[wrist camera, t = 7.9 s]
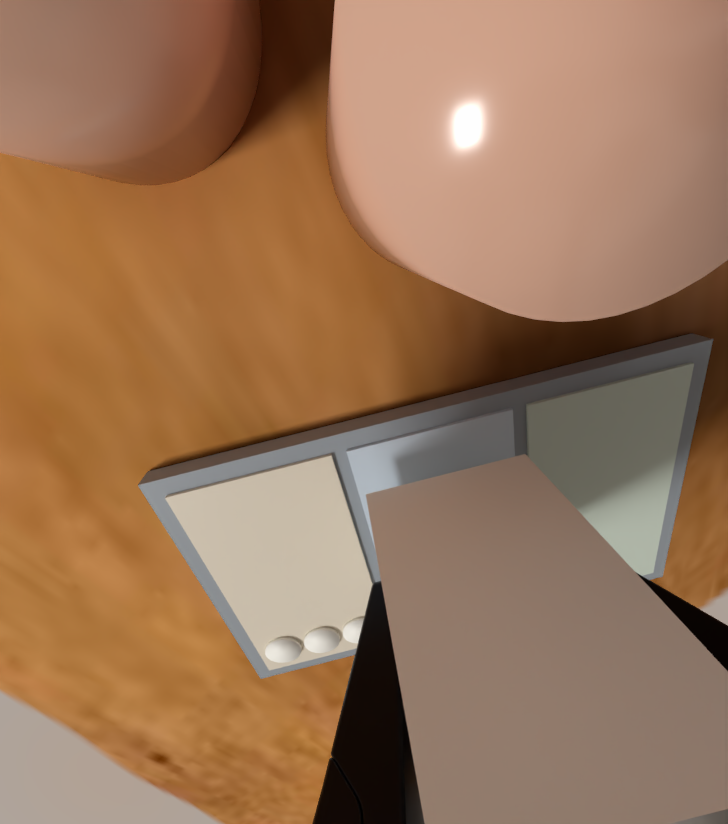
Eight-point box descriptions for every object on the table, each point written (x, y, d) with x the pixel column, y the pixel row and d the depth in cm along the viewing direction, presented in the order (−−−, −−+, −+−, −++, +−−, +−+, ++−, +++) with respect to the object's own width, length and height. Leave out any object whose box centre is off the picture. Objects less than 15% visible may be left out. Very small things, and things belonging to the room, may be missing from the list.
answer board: (692, 333, 10) (721, 341, 9) (649, 563, 14) (667, 581, 13) (147, 471, 10) (134, 490, 9) (262, 661, 14) (259, 685, 13)
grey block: (525, 454, 9) (832, 783, 4) (528, 565, 11) (736, 896, 5) (365, 494, 9) (435, 881, 4) (395, 599, 11) (471, 963, 5)
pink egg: (574, -66, 6) (1180, -769, 2) (566, 245, 9) (835, 260, 4) (291, 5, 6) (230, -528, 2) (358, 298, 9) (400, 370, 4)
